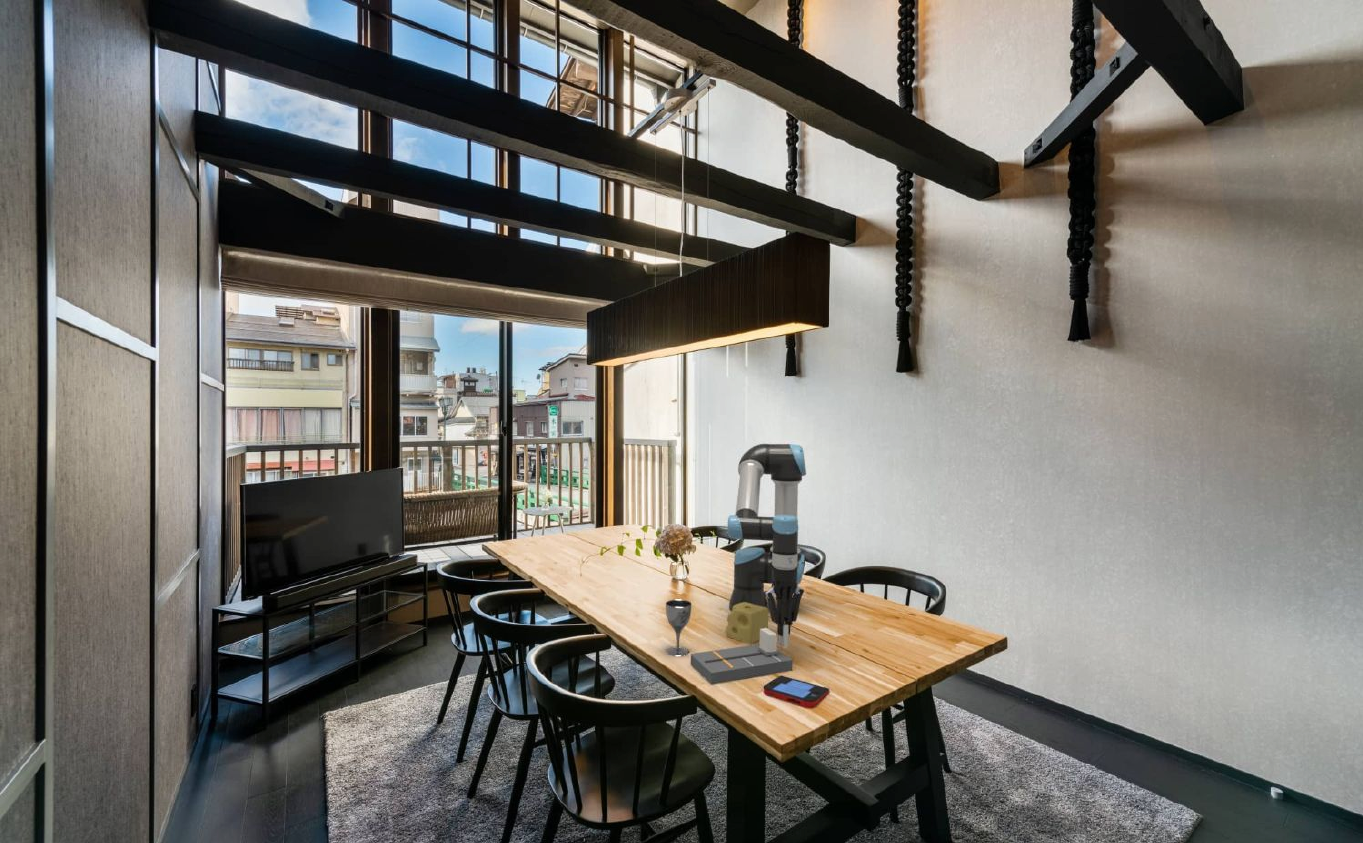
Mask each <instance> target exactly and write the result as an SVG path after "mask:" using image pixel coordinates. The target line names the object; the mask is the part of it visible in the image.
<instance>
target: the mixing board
mask: <svg viewBox="0 0 1363 843" xmlns="http://www.w3.org/2000/svg"><path fill="white" fill-rule="evenodd" d="M758 646H760V643H756V644H748V645H744V646H737V647H730V648H729V647H728V648H724V649H723V648H722V649H715V650H710V651H702V652H695V653H690V666H692V667H693V668H694V669H695V670H696V672H698V673H699V674H700V675H701V676H702V677H703V678H704V677H705V678H706V679H705V678H704V679H705V680H706V681H707V682H708V683H709V684H711V685H716V684H720V683H726V682H733V681H739V680H744V679H750V678H756V677H761V676H769V675H774V674H779V673H785V672H790V671H793V661H794V660H793V659H792V658H790V657H789V656H787V654H785V653H783V652H781V651H780V650H778V654H775V655H769V656H766V655H765V654H763V653H762V652H760V651H759V650H758Z"/></svg>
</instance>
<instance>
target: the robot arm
mask: <svg viewBox="0 0 1363 843" xmlns="http://www.w3.org/2000/svg"><path fill="white" fill-rule="evenodd" d="M738 462H739V463H738V467H737V472H738V475H739V479H738V480H739V481H738V482H739V483H738V489H737V496H736V505H735V506H736V507H735V514H732V515H729V516H728V518H727V536H728V537H729V538H730V539H735V540H741V541H742V540H746V541H747V540H751V541H754V540H755V541H770V542H772V546H771V547H770V549H769V552H766V551H765V549H764V548H763V547H758V546H757V547H753V546H752V547H745V548H741V549H739V550H737V551H736V552H735V553H734V560H733V566H734V568H733V571H734V572H733V590H732V593H731V596H730V599H729V602H728V609H729V611H731V612H732V609H733V606H734V605H736V604H739V603H743V602H747V603H750V604H753V605H758V606H762V607H765V608H768V611H769V615H770V620H771V621H772V622H773V623H775V624H776V629H777V630H776V631H777V632H776V634H777V635H778V645H779V646H781V647H782V648H784V649H785V648H789V635H791V626H792V625H793V622H796V621H797V619H798V615H799V609H800V605H801V600H802V597H803V595H804V593H805V590H804V589H803V588H801V587H799V585H800V584H801V582H802V580H803V574H804V569H805V568H804V567H805V555H804V554H803V553H801V552H802V550H801V549H800V548H799V546H798V542H799V539H798V538H799V519H798V501H799V500H798V498H799V497H798V496H799V491H798V490H799V489H798V488H799V484H800V483H801V482H802V481H803V477H805V476H806V475H807V470H806V460H805V452H804V448H803V447H802V445H800V444H793V443H760V444H759V443H758V444H756V445H754V446H752V447H750V448H749V449H748V450H747V451H746V452H745V453H743V455H742V457H741V458H740V460H739V461H738ZM764 475H770V477H771V478H770V480H771V481H772V482H773V484H774V516H759V507H760V506H759V505H760V492H761V478H762V477H763V476H764ZM765 584H771V586H770V589H769V590H765Z"/></svg>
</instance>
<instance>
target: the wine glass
mask: <svg viewBox="0 0 1363 843" xmlns="http://www.w3.org/2000/svg"><path fill="white" fill-rule="evenodd" d="M665 613H666V614H665V615H666V621H667V623H668V624H669V625H670V626H671V628H672V629H673V630H674V633H675V637H676V646H675V648H673V647H670V649H669V648H668V649H666V651H667V653H668V654H667V653H666V654H667V655H669V656H671V655H672V656H673V657H684V655H685V656H687V655H689V654H690V651H688V650H689V649H688V648H685V649H684V647H681V648H679V647H680V638H681V633H682V631H683V629H685V627H686V626H687V625H688V624H689V622H690V618H691V614H692V602H691V601H689V600H687V599H676V598H675V599H670V600H668V601H666V602H665ZM688 653H689V654H688ZM686 654H687V655H686Z"/></svg>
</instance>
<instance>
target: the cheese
mask: <svg viewBox="0 0 1363 843" xmlns="http://www.w3.org/2000/svg"><path fill="white" fill-rule="evenodd" d="M726 621H727V625H726V628H725V636H726V637H727V638H730V639H733V640H737V641H739V642H743V643H745V644H747V645H753V644H754V643H756V642H760V629H763V628H768V629H769V607H768V608H765V607H762V606H758V605H753V604H750V603H747V602H743V603H739V604H736V605H734V606H733V609H732V611H731V612H730V613H728V614H727V617H726Z"/></svg>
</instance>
